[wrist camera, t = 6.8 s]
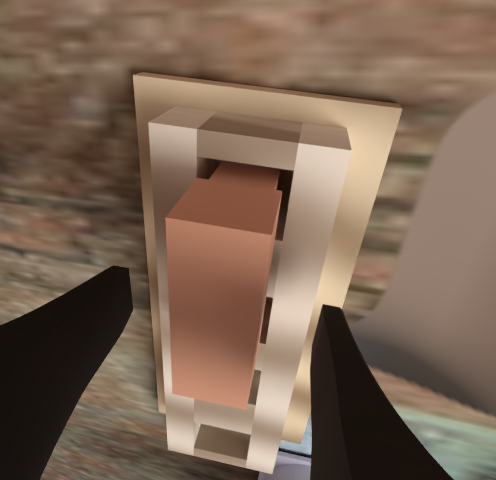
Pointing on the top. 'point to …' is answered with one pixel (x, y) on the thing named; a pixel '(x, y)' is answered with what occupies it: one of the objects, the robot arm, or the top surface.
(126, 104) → the top surface
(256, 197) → the clip
